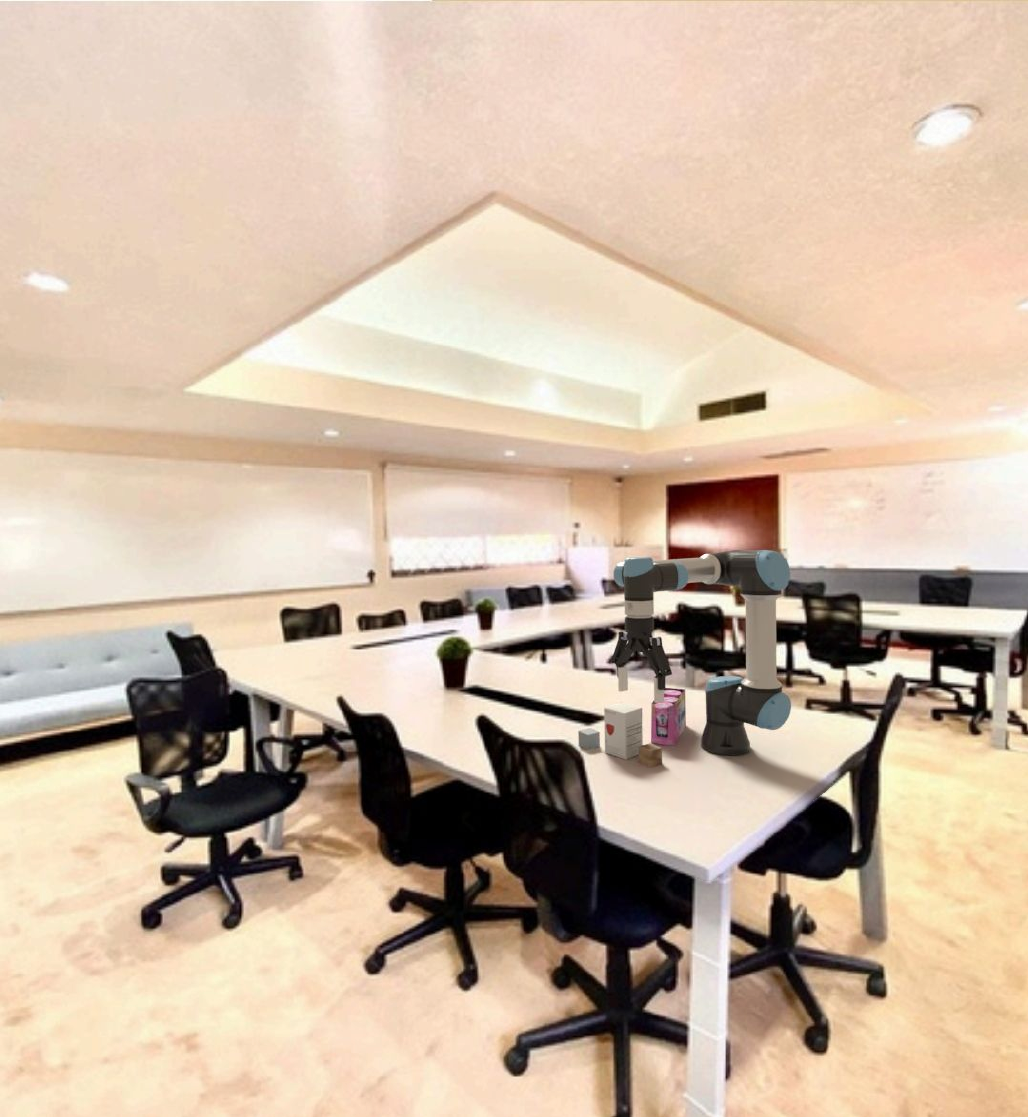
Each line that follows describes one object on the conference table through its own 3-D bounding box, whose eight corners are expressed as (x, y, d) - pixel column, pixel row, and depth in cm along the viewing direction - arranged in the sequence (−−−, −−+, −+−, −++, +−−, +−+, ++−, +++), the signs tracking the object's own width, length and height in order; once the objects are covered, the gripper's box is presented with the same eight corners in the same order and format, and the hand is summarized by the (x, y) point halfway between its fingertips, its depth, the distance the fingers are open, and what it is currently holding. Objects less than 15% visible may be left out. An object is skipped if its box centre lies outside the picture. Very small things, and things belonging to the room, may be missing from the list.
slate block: (590, 742, 204) (590, 728, 204) (599, 746, 200) (599, 732, 200) (578, 745, 202) (578, 730, 201) (588, 749, 197) (587, 734, 197)
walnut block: (650, 759, 188) (650, 743, 188) (662, 763, 184) (661, 747, 184) (638, 762, 186) (638, 746, 185) (650, 767, 181) (649, 751, 181)
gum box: (673, 747, 197) (673, 707, 197) (649, 744, 201) (648, 704, 200) (686, 726, 219) (685, 689, 218) (664, 723, 222) (663, 687, 222)
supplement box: (603, 752, 194) (602, 707, 194) (621, 746, 200) (620, 701, 199) (625, 760, 187) (624, 713, 187) (643, 753, 193) (643, 707, 192)
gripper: (597, 612, 166) (599, 688, 167) (663, 622, 144) (664, 709, 145) (618, 610, 170) (619, 684, 171) (685, 619, 148) (686, 704, 149)
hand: (640, 696), depth 158 cm, fingers open, 13 cm apart
